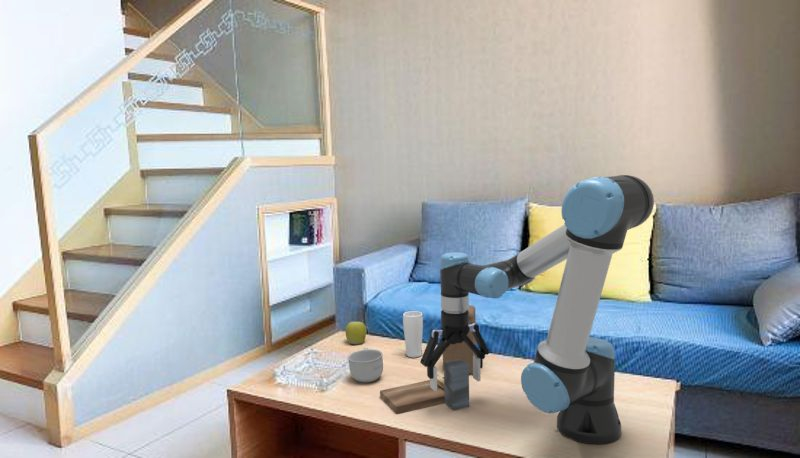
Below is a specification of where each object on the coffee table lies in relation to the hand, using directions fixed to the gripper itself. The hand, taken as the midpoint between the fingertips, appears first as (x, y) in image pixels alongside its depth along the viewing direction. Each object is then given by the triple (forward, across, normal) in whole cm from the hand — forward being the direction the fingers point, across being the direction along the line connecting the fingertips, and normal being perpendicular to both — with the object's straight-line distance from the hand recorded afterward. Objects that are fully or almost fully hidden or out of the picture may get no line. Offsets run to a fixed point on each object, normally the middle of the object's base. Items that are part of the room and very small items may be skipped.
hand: (455, 384), depth 155 cm
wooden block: (+6, -14, -22) cm, 27 cm away
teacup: (+7, +15, -30) cm, 34 cm away
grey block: (+6, 0, -5) cm, 8 cm away
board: (+6, +6, -8) cm, 12 cm away
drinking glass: (+7, -6, -40) cm, 41 cm away
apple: (+7, +7, -63) cm, 64 cm away
